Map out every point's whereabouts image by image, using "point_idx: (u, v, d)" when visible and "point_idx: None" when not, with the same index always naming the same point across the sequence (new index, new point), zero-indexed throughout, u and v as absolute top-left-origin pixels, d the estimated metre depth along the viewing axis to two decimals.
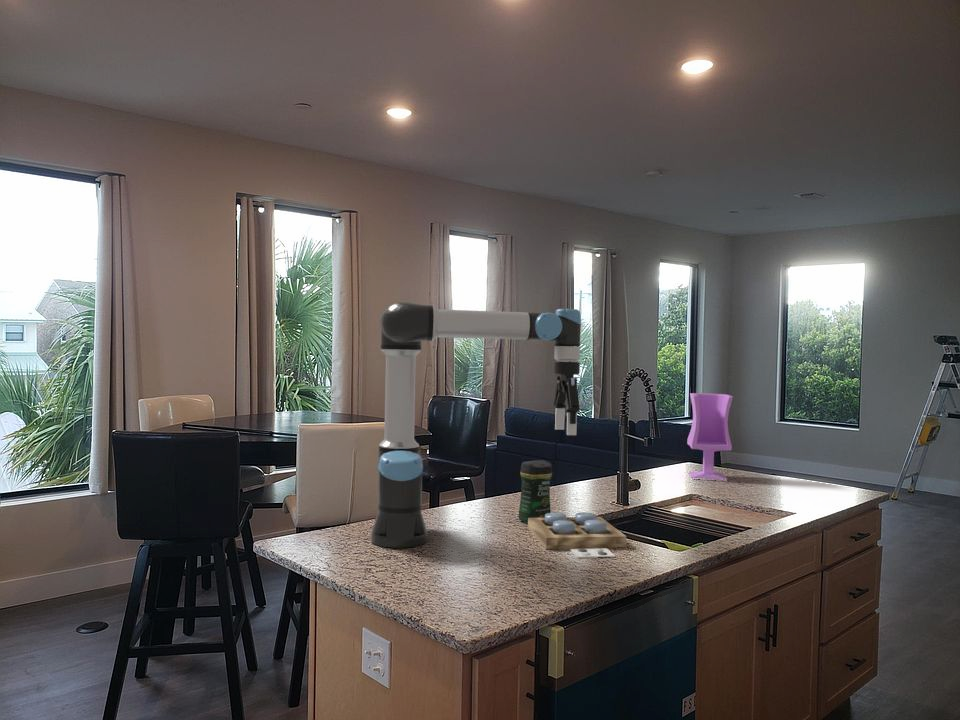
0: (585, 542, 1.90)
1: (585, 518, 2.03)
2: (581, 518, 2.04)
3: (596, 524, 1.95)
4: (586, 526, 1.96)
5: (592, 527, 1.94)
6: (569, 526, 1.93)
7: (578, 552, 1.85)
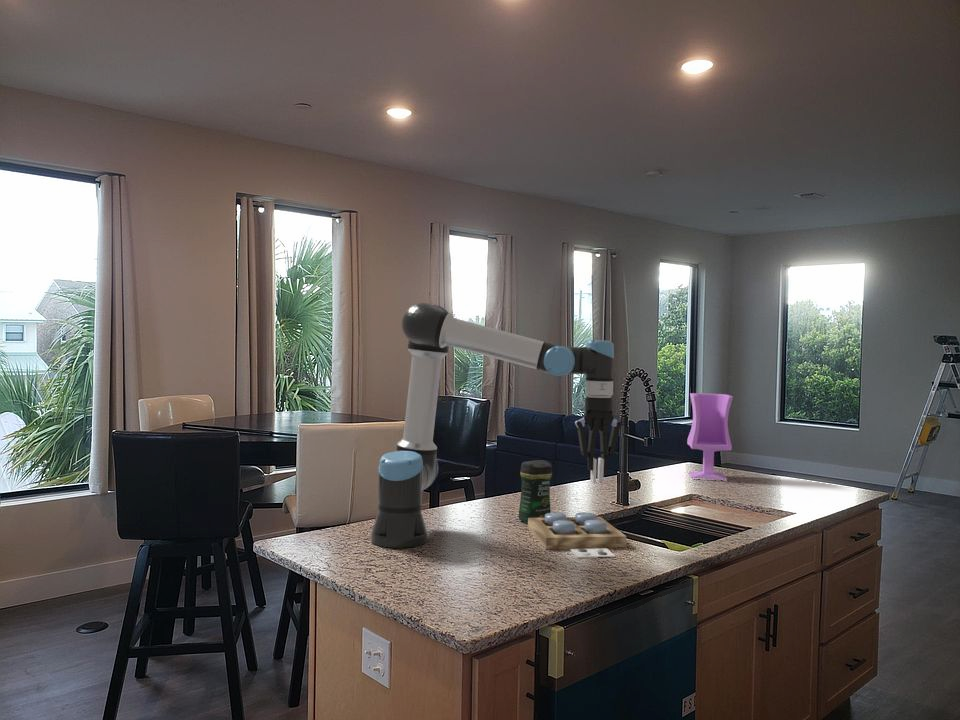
0: (585, 542, 1.90)
1: (585, 518, 2.03)
2: (581, 518, 2.04)
3: (596, 524, 1.95)
4: (586, 526, 1.96)
5: (592, 527, 1.94)
6: (569, 526, 1.93)
7: (578, 552, 1.85)
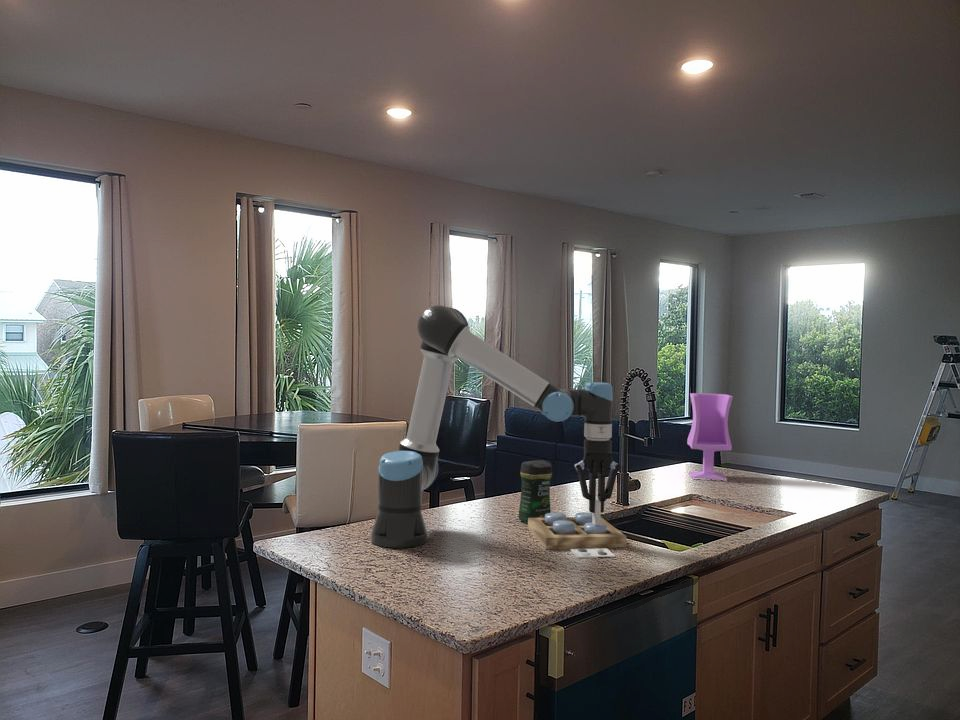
0: (585, 542, 1.90)
1: (585, 518, 2.03)
2: (581, 518, 2.04)
3: (596, 527, 1.95)
4: (586, 529, 1.96)
5: (592, 529, 1.94)
6: (569, 526, 1.93)
7: (578, 552, 1.85)
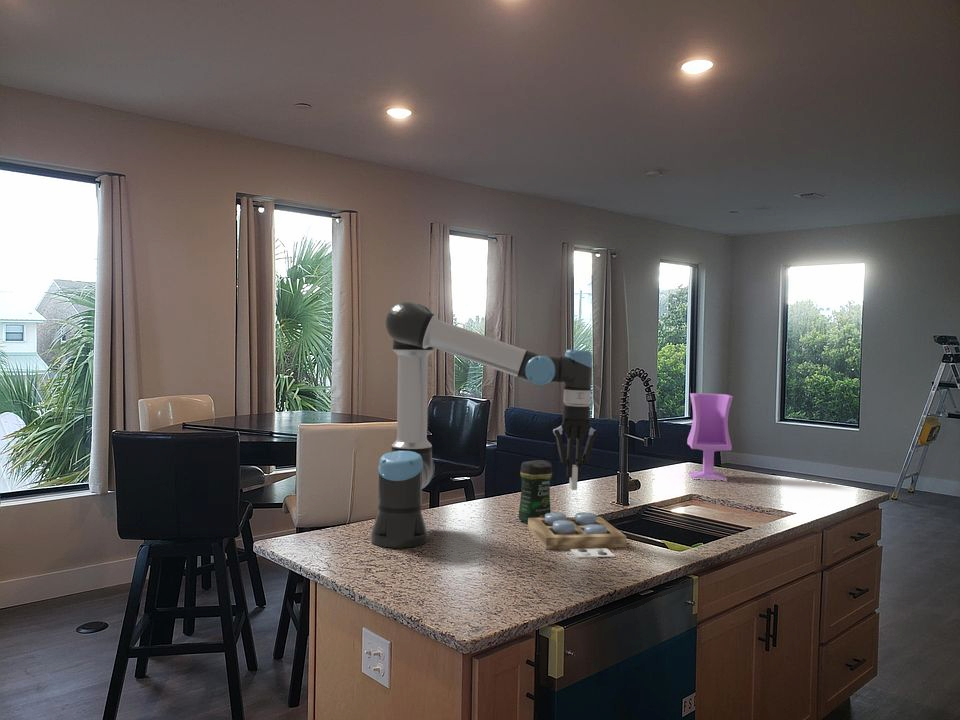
0: (585, 542, 1.90)
1: (585, 518, 2.03)
2: (581, 518, 2.04)
3: (596, 529, 1.95)
4: (586, 531, 1.96)
5: (592, 531, 1.94)
6: (569, 526, 1.93)
7: (578, 552, 1.85)
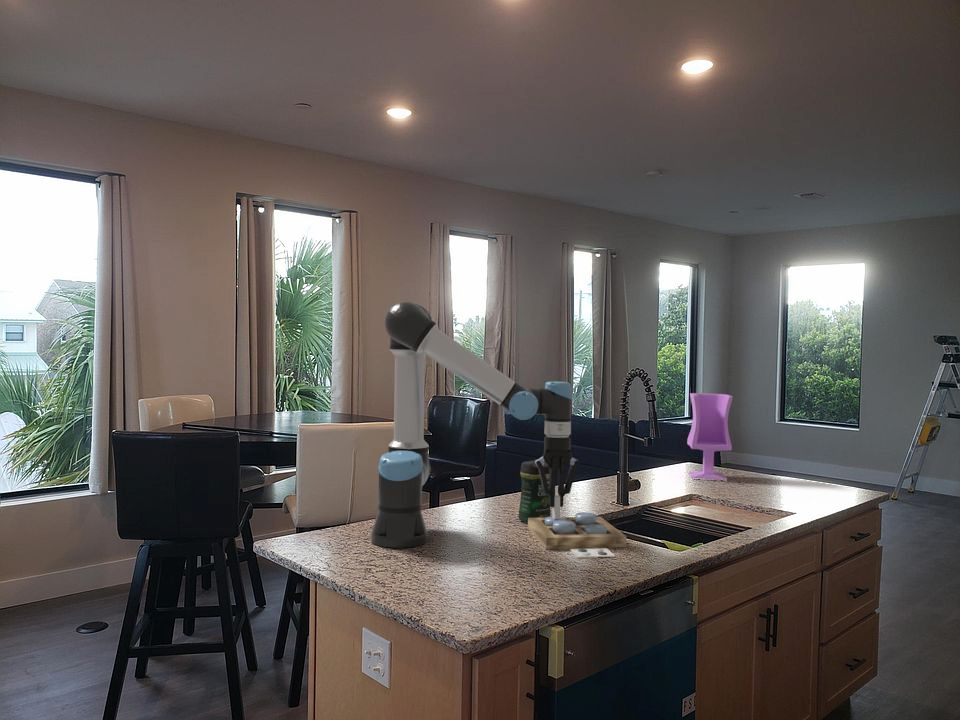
0: (585, 542, 1.90)
1: (585, 518, 2.03)
2: (581, 518, 2.04)
3: (596, 529, 1.95)
4: (586, 531, 1.96)
5: (592, 531, 1.94)
6: (569, 526, 1.93)
7: (578, 552, 1.85)
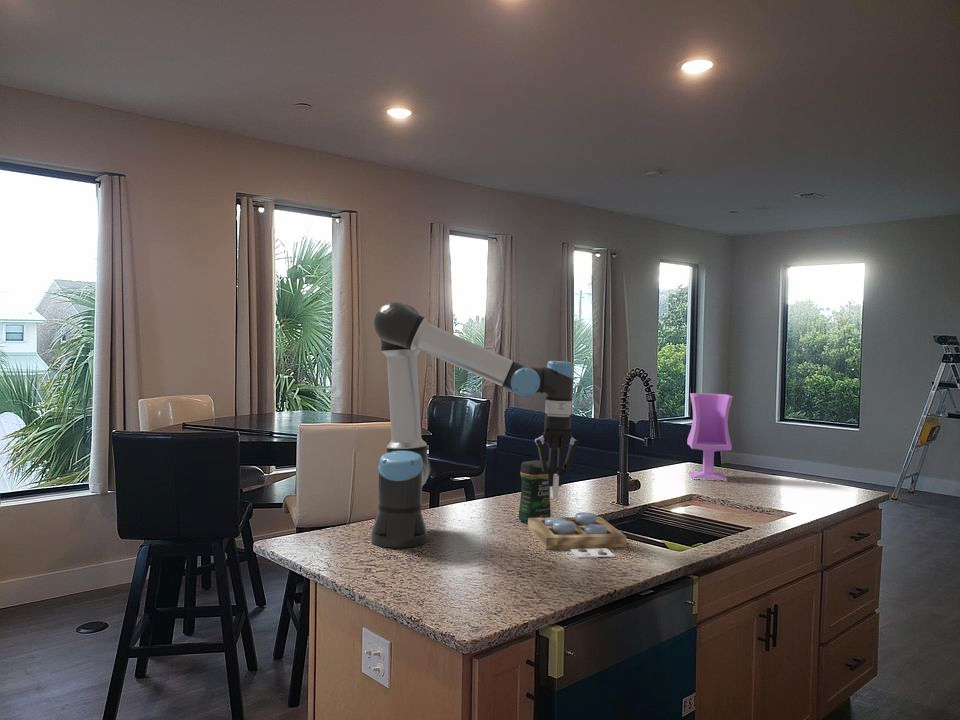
0: (585, 542, 1.90)
1: (585, 518, 2.03)
2: (581, 518, 2.04)
3: (596, 529, 1.95)
4: (586, 531, 1.96)
5: (592, 531, 1.94)
6: (569, 526, 1.93)
7: (578, 552, 1.85)
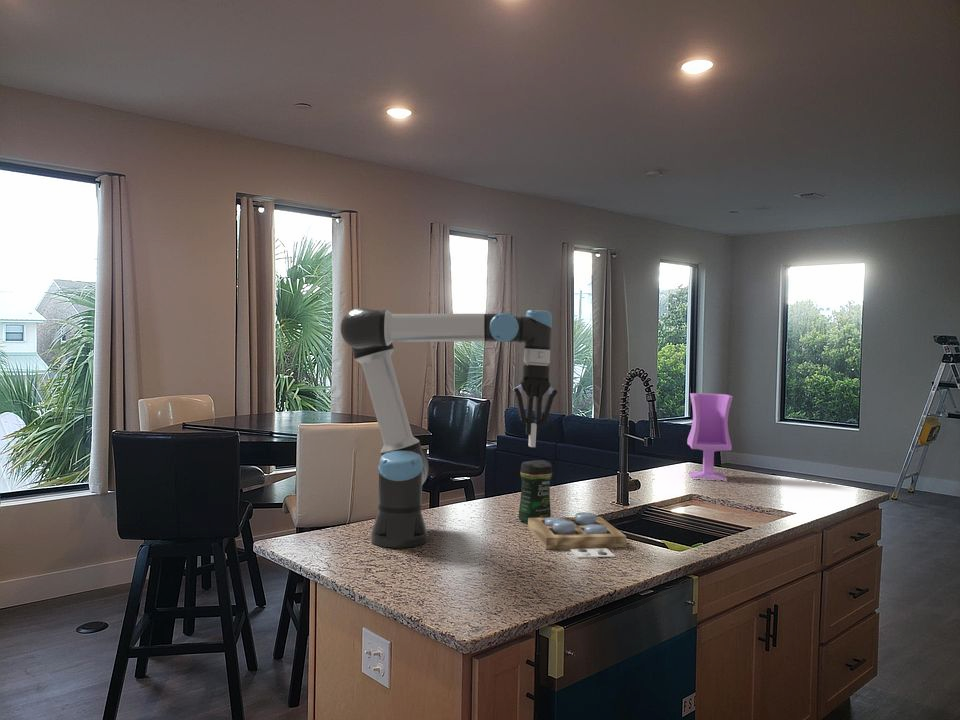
0: (585, 542, 1.90)
1: (585, 518, 2.03)
2: (581, 518, 2.04)
3: (596, 529, 1.95)
4: (586, 531, 1.96)
5: (592, 531, 1.94)
6: (569, 526, 1.93)
7: (578, 552, 1.85)
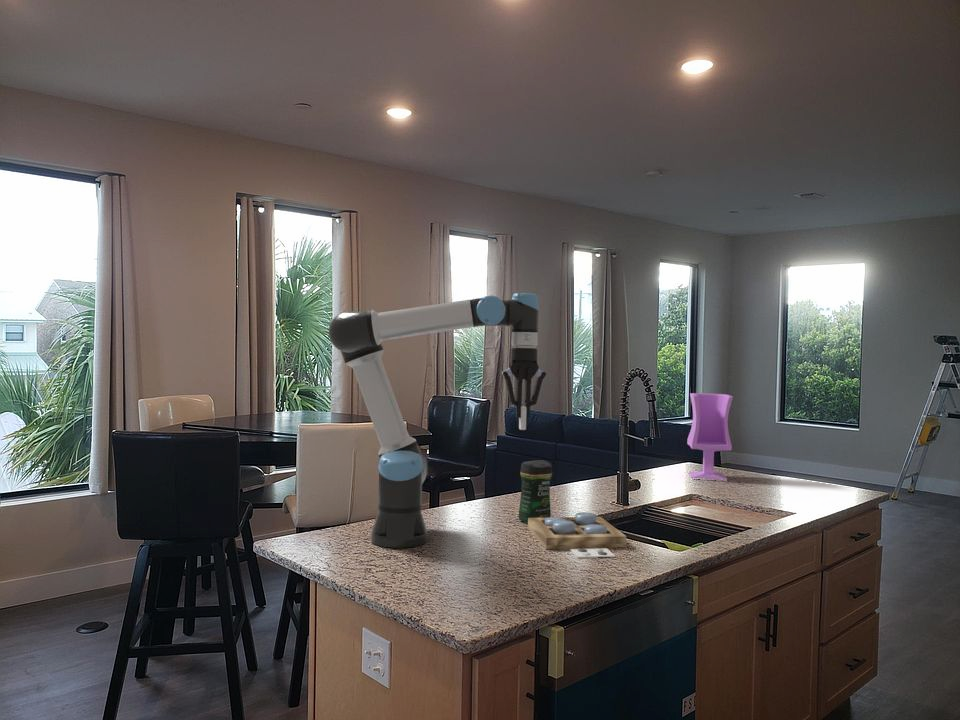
0: (585, 542, 1.90)
1: (585, 518, 2.03)
2: (581, 518, 2.04)
3: (596, 529, 1.95)
4: (586, 531, 1.96)
5: (592, 531, 1.94)
6: (569, 526, 1.93)
7: (578, 552, 1.85)
